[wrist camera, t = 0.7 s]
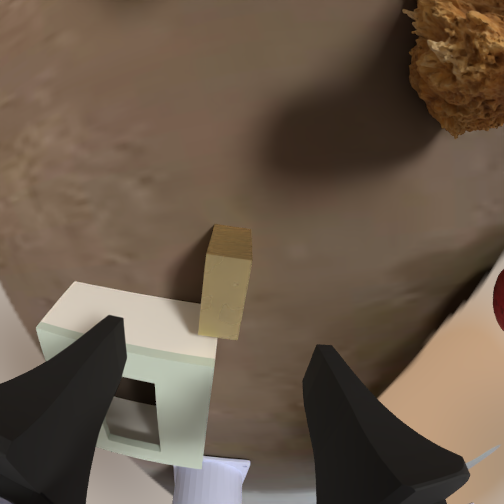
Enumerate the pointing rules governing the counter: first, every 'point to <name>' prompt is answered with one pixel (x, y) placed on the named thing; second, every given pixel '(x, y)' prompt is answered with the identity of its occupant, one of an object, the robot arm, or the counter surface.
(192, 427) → the box
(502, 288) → the onion
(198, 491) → the robot arm
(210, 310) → the tan rectangular block
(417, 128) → the counter surface
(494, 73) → the stuffed squirrel
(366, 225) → the counter surface
